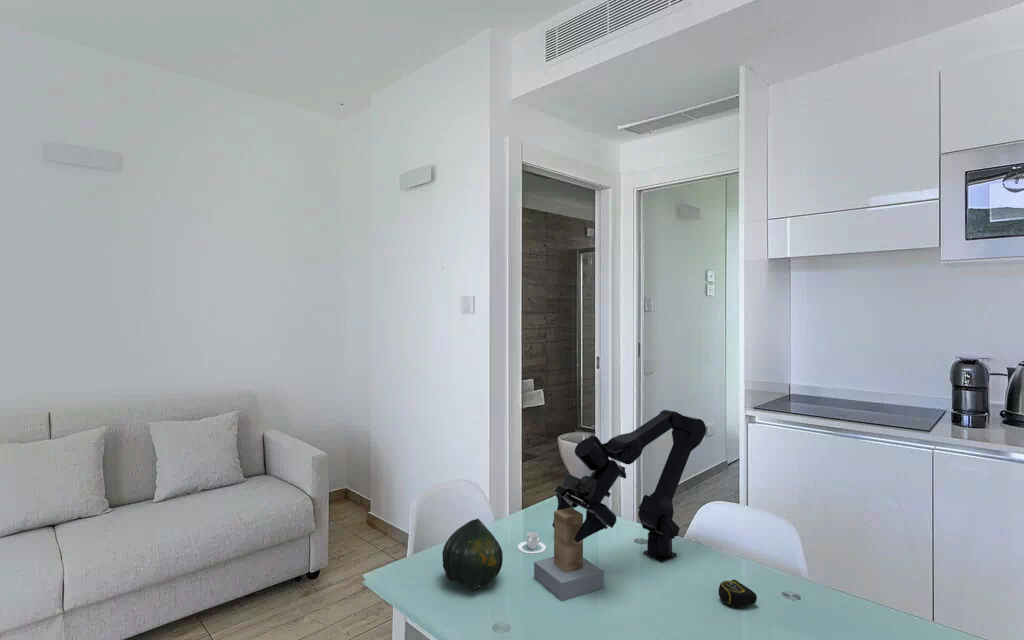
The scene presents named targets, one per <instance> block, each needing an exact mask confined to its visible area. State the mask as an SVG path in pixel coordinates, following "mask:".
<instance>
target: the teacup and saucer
mask: <svg viewBox="0 0 1024 640" xmlns="http://www.w3.org/2000/svg"><path fill="white" fill-rule="evenodd" d="M525 545H527V547H528V549H530V550H535V551H528V550H525V549H524V548H523V546H525ZM538 545H539V546H541V548H540V549H539V550H536V549H537V546H538ZM517 550H518V551H520V552H522V553H525V554H530V555H531V554H532V555H533V554H535V555H536V554H541V553H543V552H544V551H546V550H547V546H546V544H545V543H543V542H540V537H539V533H538V532H536V531H535V532H534V531H529V532H527V533H526V541H523V542H522V541H521V542H520V543H519V544H518V545H517Z"/></svg>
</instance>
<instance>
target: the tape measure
mask: <svg viewBox="0 0 1024 640" xmlns="http://www.w3.org/2000/svg"><path fill="white" fill-rule="evenodd" d="M718 596H719V599H720V600H721V601H722V602H723V603H725V604H727V605H729V606H731V607H733V608H746V607H749V606H751V605H754V604H755V603H756V602H757V600H758V597H757V594H756V593H755V592H754V591H753V590H752V589H750V588H749V587H747V586H746V585H744V584H742V583H741V582H740V581H738V580H737V579H732V580H723V581H721V582H720V584H719V586H718Z"/></svg>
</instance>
